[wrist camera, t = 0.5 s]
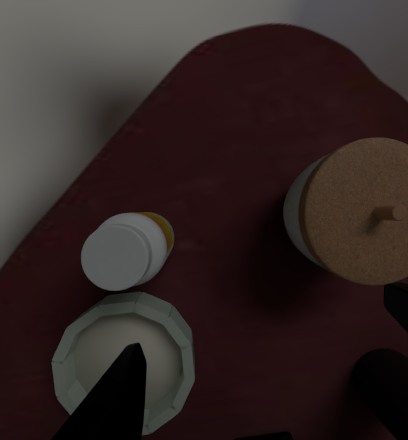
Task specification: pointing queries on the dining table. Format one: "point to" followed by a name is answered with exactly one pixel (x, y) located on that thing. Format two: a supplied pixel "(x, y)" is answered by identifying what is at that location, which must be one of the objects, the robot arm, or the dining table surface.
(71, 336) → the bowl
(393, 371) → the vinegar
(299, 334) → the dining table surface
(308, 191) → the lidded jar
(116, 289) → the supplement bottle
